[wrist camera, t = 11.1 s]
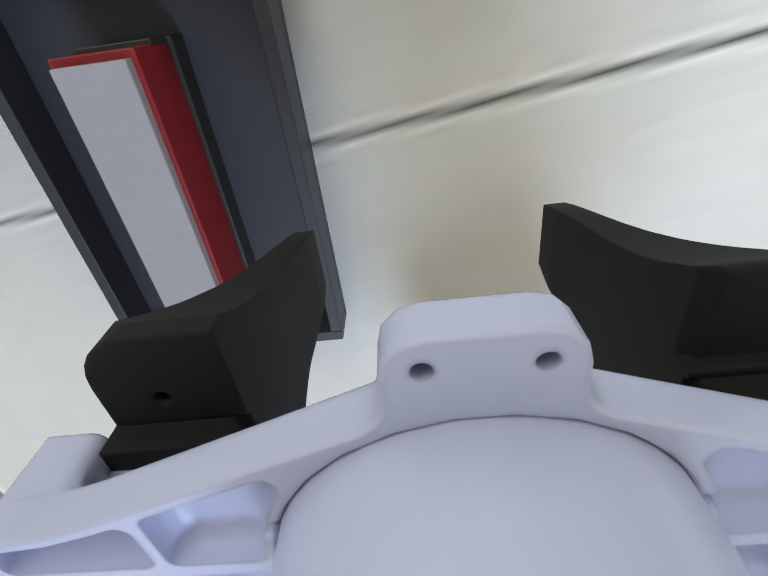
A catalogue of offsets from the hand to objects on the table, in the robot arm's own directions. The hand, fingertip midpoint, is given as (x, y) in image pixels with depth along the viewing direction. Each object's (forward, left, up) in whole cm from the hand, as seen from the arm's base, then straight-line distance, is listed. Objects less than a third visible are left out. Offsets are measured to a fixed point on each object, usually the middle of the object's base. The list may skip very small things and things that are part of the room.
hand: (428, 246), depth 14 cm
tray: (0, +11, -9) cm, 14 cm away
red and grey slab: (0, +11, -9) cm, 14 cm away
